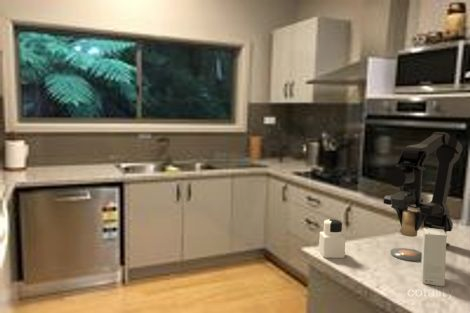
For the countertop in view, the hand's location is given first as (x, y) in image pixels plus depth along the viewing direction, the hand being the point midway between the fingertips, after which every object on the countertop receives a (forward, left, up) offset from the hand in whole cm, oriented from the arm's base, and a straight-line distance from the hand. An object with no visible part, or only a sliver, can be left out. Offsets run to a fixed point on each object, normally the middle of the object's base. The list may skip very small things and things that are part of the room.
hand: (409, 228), depth 139 cm
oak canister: (0, 0, -2) cm, 2 cm away
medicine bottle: (+23, -13, -10) cm, 28 cm away
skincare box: (+12, +17, -10) cm, 23 cm away
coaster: (0, 0, -10) cm, 10 cm away
